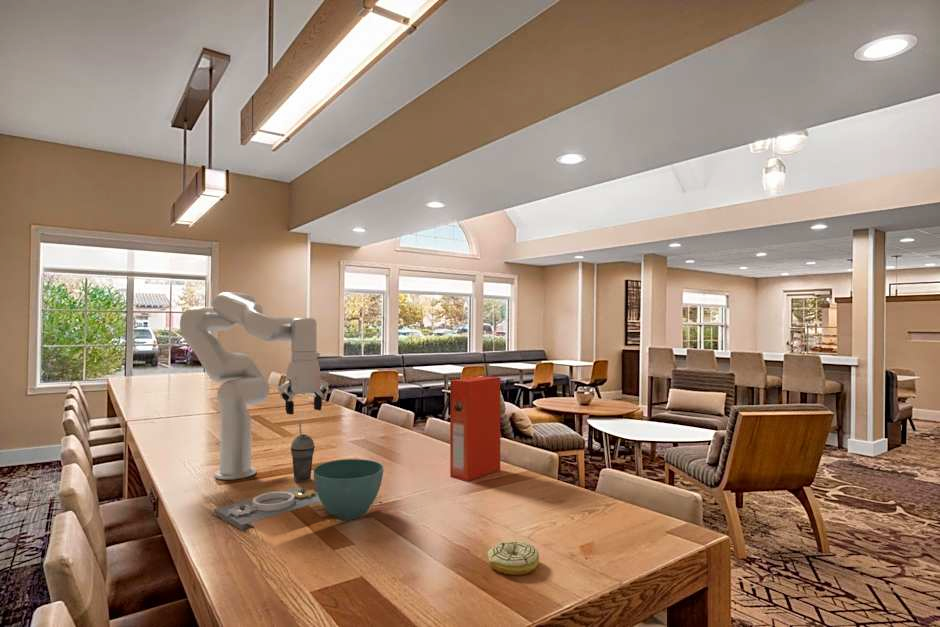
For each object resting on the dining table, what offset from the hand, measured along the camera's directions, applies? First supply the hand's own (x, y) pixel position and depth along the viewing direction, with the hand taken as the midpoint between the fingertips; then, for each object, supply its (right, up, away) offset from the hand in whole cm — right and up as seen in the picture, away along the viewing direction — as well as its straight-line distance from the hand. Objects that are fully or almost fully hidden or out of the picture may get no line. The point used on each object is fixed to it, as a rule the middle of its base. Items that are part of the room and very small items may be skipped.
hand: (304, 411), depth 163 cm
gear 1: (-7, -21, -28) cm, 35 cm away
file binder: (+54, -24, +14) cm, 60 cm away
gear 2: (+4, -21, -14) cm, 26 cm away
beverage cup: (-1, -23, 0) cm, 23 cm away
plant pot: (+20, -23, -24) cm, 39 cm away
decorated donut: (+61, -23, -53) cm, 84 cm away
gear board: (-2, -23, -21) cm, 31 cm away
